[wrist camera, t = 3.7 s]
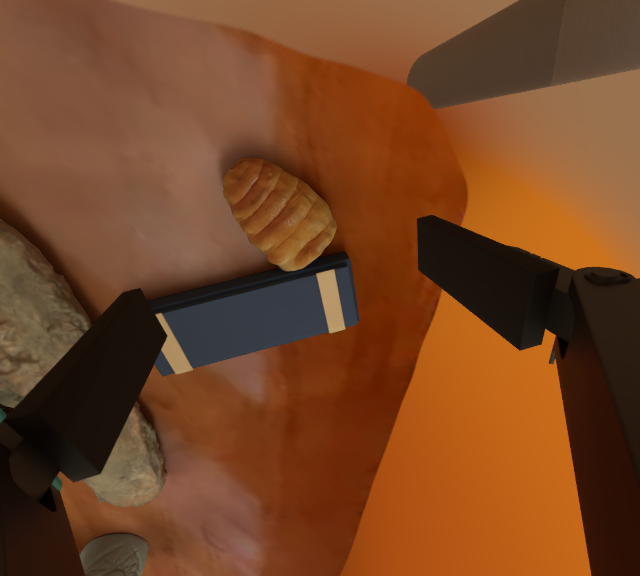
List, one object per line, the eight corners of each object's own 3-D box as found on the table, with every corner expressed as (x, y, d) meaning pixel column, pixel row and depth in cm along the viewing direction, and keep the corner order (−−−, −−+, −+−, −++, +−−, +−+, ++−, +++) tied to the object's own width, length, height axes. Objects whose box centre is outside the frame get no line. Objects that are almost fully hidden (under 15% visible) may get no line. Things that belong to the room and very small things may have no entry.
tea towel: (344, 251, 27) (352, 261, 25) (354, 311, 30) (362, 325, 28) (132, 304, 26) (119, 320, 23) (166, 361, 29) (158, 380, 27)
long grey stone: (111, 482, 37) (191, 460, 38) (93, 531, 32) (184, 504, 34) (-126, 217, 19) (41, 197, 21) (-240, 245, 15) (-16, 217, 16)
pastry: (204, 196, 23) (194, 205, 19) (263, 132, 21) (263, 129, 18) (288, 271, 27) (292, 289, 23) (341, 220, 25) (353, 232, 22)
